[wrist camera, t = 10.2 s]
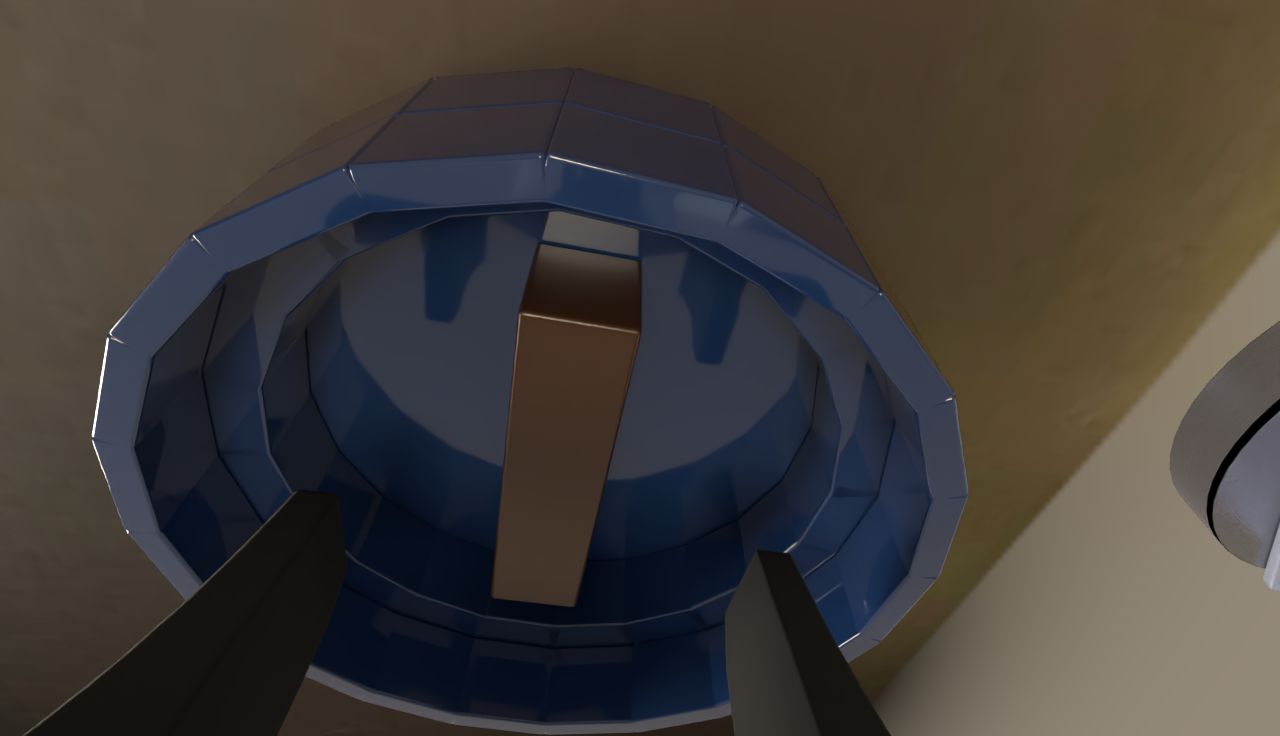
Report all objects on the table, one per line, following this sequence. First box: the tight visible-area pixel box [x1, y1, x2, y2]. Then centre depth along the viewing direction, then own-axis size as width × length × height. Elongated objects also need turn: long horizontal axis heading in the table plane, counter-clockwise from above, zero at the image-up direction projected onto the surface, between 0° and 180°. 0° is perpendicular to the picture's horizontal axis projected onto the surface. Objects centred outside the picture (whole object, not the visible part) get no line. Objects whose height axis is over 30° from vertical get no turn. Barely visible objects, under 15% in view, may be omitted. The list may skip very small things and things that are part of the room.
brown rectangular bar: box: [491, 244, 642, 607], centre depth 14 cm, size 8×2×2 cm, turn 169°
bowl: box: [92, 68, 968, 735], centre depth 13 cm, size 14×14×4 cm
